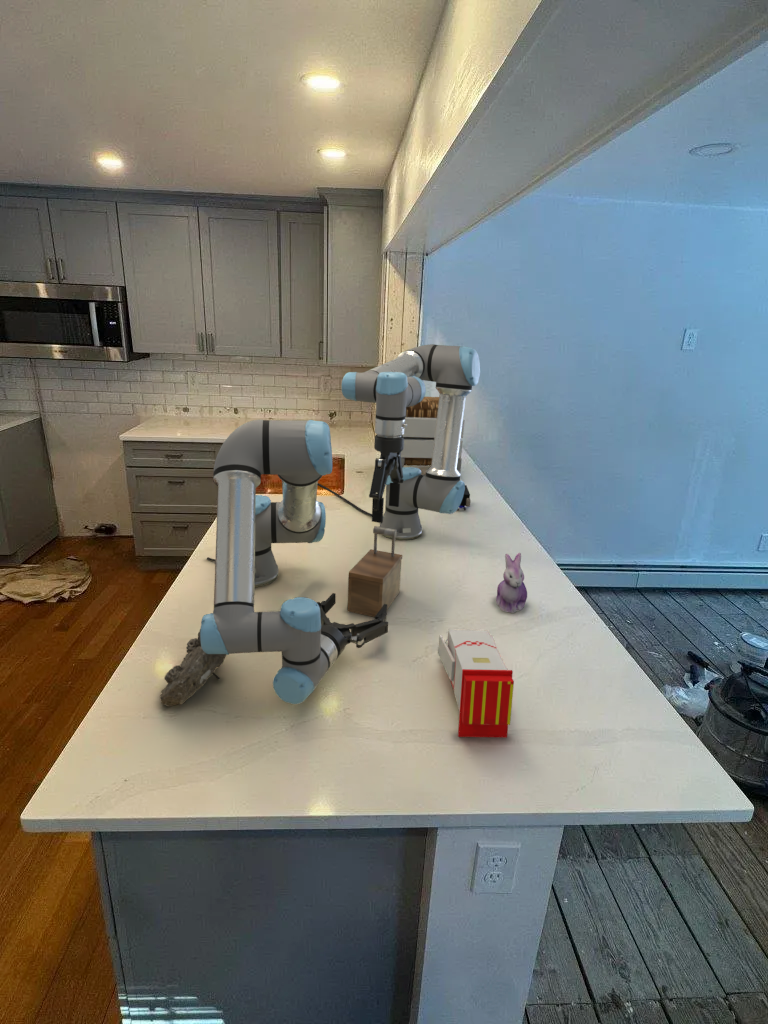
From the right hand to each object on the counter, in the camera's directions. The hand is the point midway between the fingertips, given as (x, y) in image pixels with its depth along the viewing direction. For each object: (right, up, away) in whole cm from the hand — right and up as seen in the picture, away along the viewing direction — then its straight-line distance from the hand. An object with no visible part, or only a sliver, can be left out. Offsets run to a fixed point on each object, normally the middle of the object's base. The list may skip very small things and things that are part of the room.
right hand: (385, 513), depth 151 cm
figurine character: (+30, +3, +80) cm, 85 cm away
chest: (-3, -24, +2) cm, 24 cm away
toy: (+17, -37, -32) cm, 52 cm away
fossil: (-39, -34, -32) cm, 61 cm away
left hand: (-7, -22, -11) cm, 26 cm away
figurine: (+34, -25, +3) cm, 42 cm away
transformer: (+17, +19, +124) cm, 127 cm away
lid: (-3, -14, -1) cm, 14 cm away
